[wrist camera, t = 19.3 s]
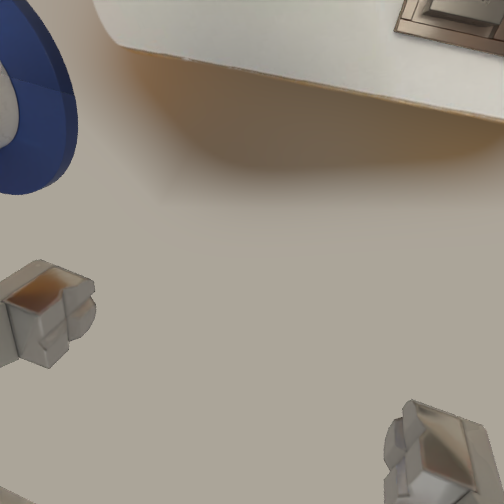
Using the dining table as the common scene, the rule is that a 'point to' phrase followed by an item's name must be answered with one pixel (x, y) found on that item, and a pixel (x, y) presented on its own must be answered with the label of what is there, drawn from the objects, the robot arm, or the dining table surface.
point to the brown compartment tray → (456, 23)
